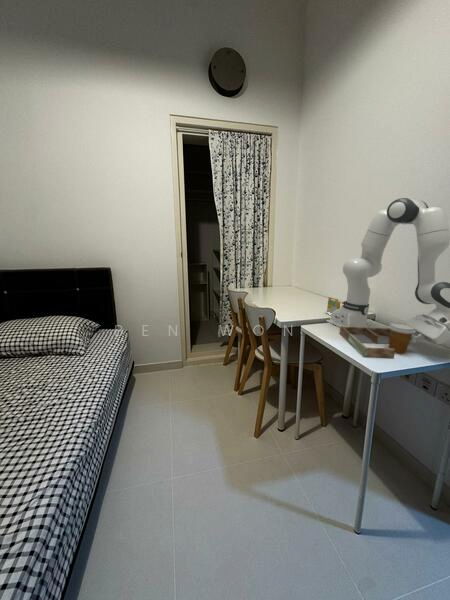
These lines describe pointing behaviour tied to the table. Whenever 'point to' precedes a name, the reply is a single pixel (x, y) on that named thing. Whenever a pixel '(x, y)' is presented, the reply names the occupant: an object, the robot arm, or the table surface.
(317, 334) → the table surface
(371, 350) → the walnut corridor
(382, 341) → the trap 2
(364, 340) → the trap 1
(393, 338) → the disposable coffee cup
